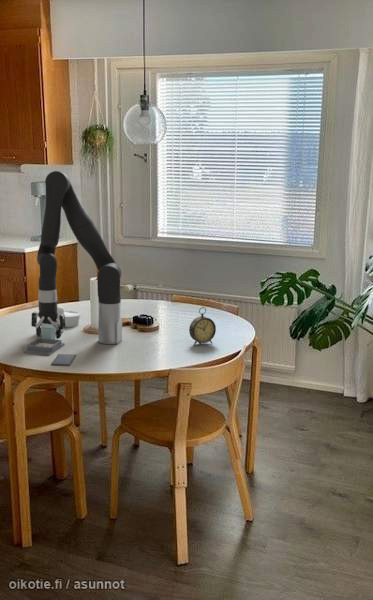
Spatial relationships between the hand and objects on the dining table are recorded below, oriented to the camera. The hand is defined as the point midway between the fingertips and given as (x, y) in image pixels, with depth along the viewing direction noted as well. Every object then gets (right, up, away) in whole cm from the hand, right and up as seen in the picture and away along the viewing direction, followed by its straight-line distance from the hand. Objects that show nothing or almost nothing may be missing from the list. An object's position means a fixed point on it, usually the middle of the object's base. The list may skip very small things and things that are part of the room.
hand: (48, 337), depth 246 cm
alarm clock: (+64, -3, +3) cm, 64 cm away
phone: (+11, -8, -22) cm, 26 cm away
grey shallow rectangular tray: (+1, -4, -10) cm, 11 cm away
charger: (0, -2, 0) cm, 2 cm away
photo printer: (-1, +1, +13) cm, 13 cm away
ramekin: (+3, +4, +26) cm, 26 cm away
